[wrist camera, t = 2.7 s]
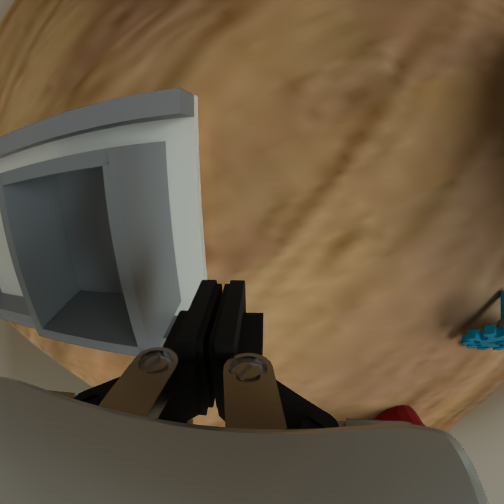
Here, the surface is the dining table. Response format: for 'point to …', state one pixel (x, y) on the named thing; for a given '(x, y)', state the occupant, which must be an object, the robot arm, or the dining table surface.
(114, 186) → the crate
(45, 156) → the bay
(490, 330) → the gear
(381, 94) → the dining table surface
